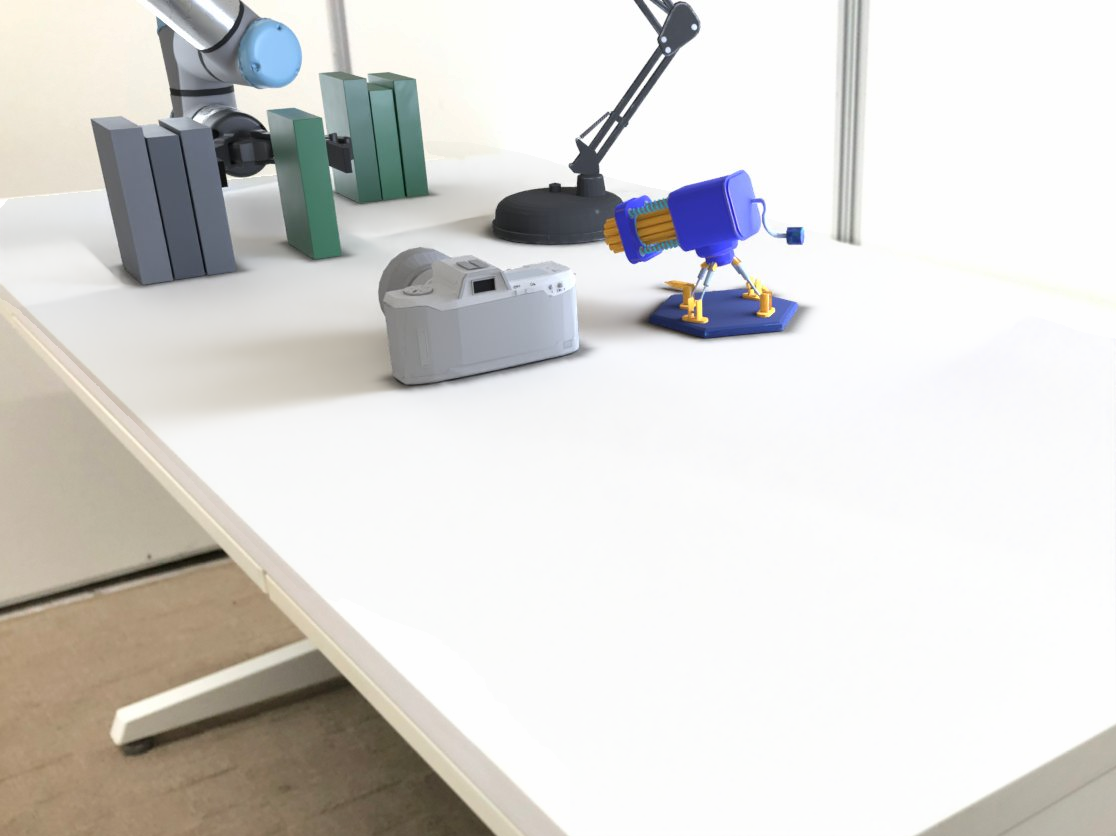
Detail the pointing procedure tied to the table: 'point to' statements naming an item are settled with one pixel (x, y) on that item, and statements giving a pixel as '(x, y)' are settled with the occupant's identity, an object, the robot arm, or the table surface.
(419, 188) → the green books
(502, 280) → the digital camera
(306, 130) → the green book
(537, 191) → the desk lamp
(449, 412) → the table surface
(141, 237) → the grey books
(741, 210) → the toy gatling gun
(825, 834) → the table surface
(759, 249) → the table surface
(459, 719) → the table surface
